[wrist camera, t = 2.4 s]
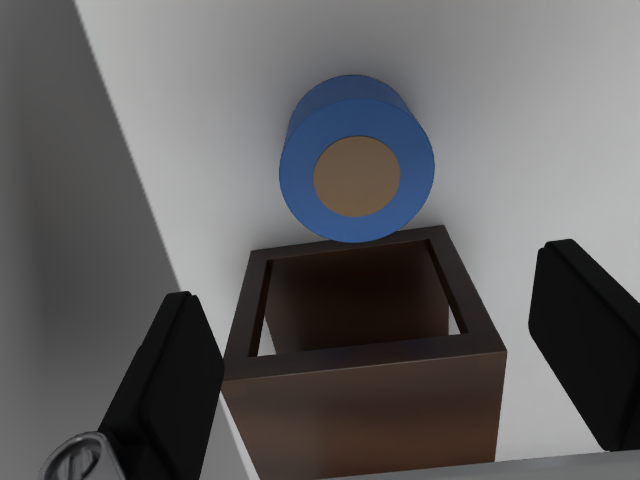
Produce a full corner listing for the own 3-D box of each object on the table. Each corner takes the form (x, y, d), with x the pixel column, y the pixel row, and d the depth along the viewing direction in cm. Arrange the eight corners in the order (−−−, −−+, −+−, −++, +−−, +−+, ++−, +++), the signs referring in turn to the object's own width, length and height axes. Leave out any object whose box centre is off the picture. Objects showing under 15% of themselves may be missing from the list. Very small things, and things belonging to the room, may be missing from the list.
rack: (250, 250, 26) (204, 425, 16) (444, 224, 25) (529, 393, 15) (298, 408, 34) (288, 589, 24) (444, 394, 33) (498, 576, 23)
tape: (274, 87, 21) (262, 113, 16) (411, 64, 20) (434, 85, 16) (299, 206, 24) (294, 252, 20) (416, 189, 24) (436, 234, 19)
